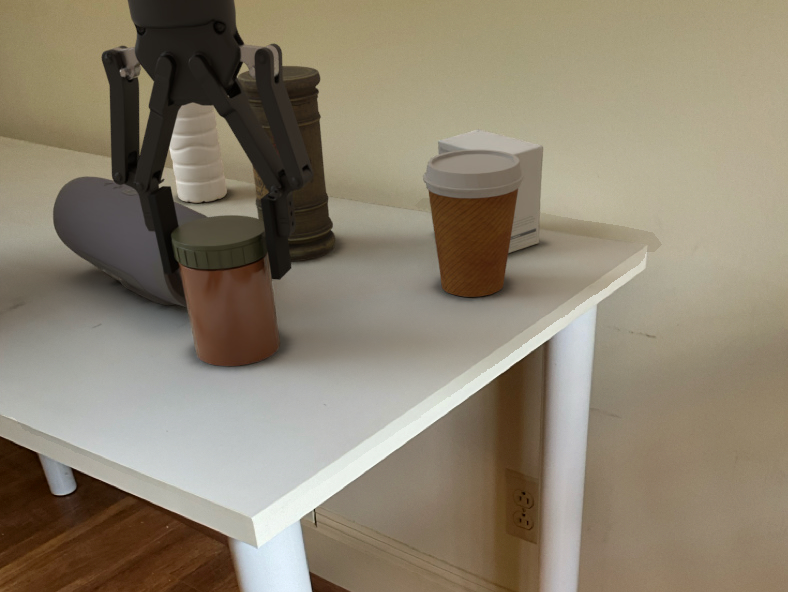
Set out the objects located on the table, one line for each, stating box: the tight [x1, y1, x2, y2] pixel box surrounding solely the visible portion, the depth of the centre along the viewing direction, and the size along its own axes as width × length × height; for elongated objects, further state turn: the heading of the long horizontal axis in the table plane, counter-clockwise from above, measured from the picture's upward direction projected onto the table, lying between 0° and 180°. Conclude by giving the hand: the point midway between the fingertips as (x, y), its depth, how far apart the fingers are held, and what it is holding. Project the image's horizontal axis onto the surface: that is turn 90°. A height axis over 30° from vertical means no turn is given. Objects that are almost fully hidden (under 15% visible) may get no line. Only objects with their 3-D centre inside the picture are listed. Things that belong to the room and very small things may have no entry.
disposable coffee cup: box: [422, 150, 524, 298], centre depth 86 cm, size 10×10×12 cm
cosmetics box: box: [437, 128, 544, 254], centre depth 98 cm, size 10×6×10 cm, turn 37°
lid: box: [171, 214, 268, 269], centre depth 74 cm, size 8×8×2 cm
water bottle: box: [169, 103, 228, 204], centre depth 111 cm, size 9×6×25 cm
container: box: [237, 65, 336, 262], centre depth 95 cm, size 9×9×18 cm
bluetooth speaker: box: [52, 176, 208, 308], centre depth 89 cm, size 23×9×10 cm, turn 43°
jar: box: [178, 253, 281, 367], centre depth 77 cm, size 8×8×10 cm
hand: (227, 270), depth 76 cm, fingers open, 9 cm apart
